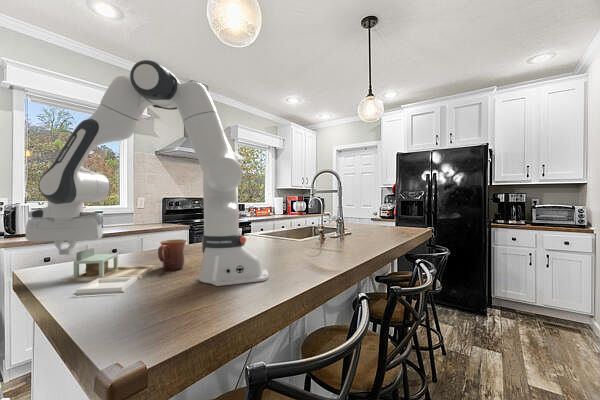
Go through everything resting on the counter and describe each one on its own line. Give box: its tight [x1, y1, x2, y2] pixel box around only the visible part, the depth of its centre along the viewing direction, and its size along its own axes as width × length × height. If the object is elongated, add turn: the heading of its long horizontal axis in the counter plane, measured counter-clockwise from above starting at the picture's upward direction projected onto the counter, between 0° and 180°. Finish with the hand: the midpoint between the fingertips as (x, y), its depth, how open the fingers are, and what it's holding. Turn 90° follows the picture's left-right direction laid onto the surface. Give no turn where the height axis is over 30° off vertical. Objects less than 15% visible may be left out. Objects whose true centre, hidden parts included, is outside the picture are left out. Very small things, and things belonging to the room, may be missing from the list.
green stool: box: [73, 247, 119, 278], centre depth 92 cm, size 8×11×8 cm
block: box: [85, 260, 109, 276], centre depth 92 cm, size 4×4×4 cm
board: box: [60, 264, 156, 283], centre depth 93 cm, size 22×14×1 cm, turn 101°
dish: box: [75, 276, 138, 297], centre depth 80 cm, size 11×11×2 cm
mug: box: [157, 238, 187, 272], centre depth 101 cm, size 12×9×10 cm
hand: (65, 254), depth 90 cm, fingers closed
